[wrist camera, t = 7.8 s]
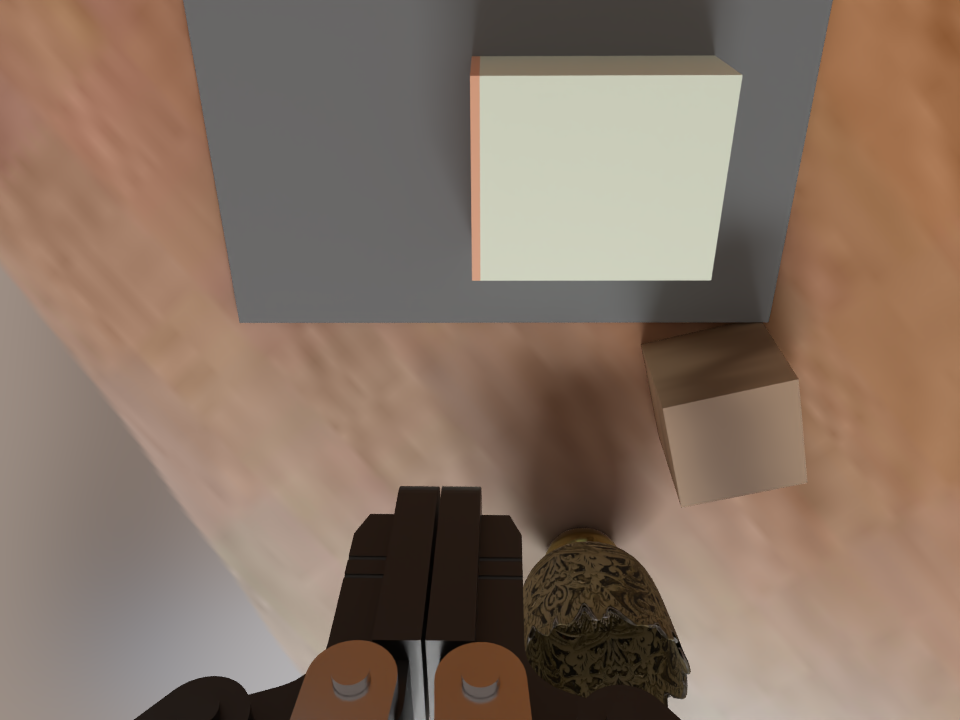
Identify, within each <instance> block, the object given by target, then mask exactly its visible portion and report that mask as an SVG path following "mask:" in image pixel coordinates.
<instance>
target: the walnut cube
mask: <svg viewBox="0 0 960 720" xmlns="http://www.w3.org/2000/svg"><path fill="white" fill-rule="evenodd" d="M641 347H642V352H643V357H644V363H645V368H646V373H647V378H648V383H649V388H650V393H651V398H652V403H653V409H654V414H655V419H656V424H657V429H658V434H659V438H660V441H661V445H662V448H663V451H664V454H665V457H666V460H667V464H668V467H669V470H670V473H671V476H672V479H673V483H674V486H675V489H676V492H677V495H678V498H679V502H680V505H681V508H682V507H688V506H693V505H698V504H703V503H708V502H713V501H718V500H723V499H728V498H733V497H738V496H743V495H748V494H753V493H758V492H763V491H769V490H774V489H779V488H784V487H789V486H794V485H799V484H804V483H807V473H806V461H805V449H804V437H803V425H802V414H801V402H800V390H799V379H798V378H797V376H796V374H795V373H794V371H793V370H792V368H791V367H790V365H789V363H788V362H787V360H786V359H785V357H784V356H783V354H782V352H781V351H780V349H779V348H778V346H777V345H776V343H775V342H774V340H773V338H772V337H771V335H770V334H769V332H768V331H767V329H766V327H765V326H764V324H763V323H762V322H737V323H733V324H729V325H724V326H720V327H716V328H711V329H707V330H702V331H698V332H694V333H689V334H685V335H680V336H676V337H672V338H667V339H663V340H659V341H654V342H650V343H645V344H641Z"/></svg>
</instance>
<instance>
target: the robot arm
mask: <svg viewBox="0 0 960 720" xmlns="http://www.w3.org/2000/svg"><path fill="white" fill-rule="evenodd" d="M429 717H430V720H681V719H680V718H678V717H677V716H676V715H675V714H674V713H673V712H672V711H671V710H670V709H669V708H668V707H666V706H665V705H664V704H663V703H662V702H661V701H660V700H659V699H657V698H656V697H655V696H654V695H652V694H650V693H648V692H647V691H645V690H642V689H640V688H637V687H633V686H628V685H611V686H605V687H603V688H600V689H598V690H596V691H594V692H592V693H591V694H590V695H589V696H588V697H587V698H585V697H582V696H578V695H575V694H572V693H569V692H566V691H563V690H561V689H558V688H556V687H554V686H552V685H550V684H549V683H547V682H546V681H544V680H543V679H542V678H541V677H540V676H539V675H538V674H537V673H536V672H535V671H534V669H533V668H532V667H531V665H530V663H529V661H528V659H527V656H526V653H525V641H524V606H523V570H522V535H521V533H520V532H519V530H518V529H517V527H516V525H515V524H514V522H513V520H512V519H511V517H510V515H482V495H481V487H444V486H443V487H442V491H441V497H440V487H428V486H400V488H399V492H398V497H397V502H396V508H395V513H394V514H370V515H369V516H368V517H367V519H366V520H365V521H364V522H363V523H362V525H361V526H360V527H359V528H358V529H357V531H356V532H355V533H354V537H353V541H352V545H351V549H350V553H349V560H348V562H347V566H346V570H345V578H343V583H342V587H341V591H340V595H339V599H338V603H337V608H336V612H335V616H334V620H333V624H332V629H331V633H330V637H329V641H328V645H327V648H326V650H324V651H323V652H322V653H320V654H319V655H318V656H317V657H316V658H315V659H314V660H313V662H312V663H311V665H310V666H309V668H308V670H307V672H306V674H305V675H303V676H302V677H300V678H298V679H297V680H295V681H293V682H290V683H288V684H285V685H283V686H279V687H276V688H272V689H268V690H265V691H261V692H257V693H253V694H250V695H248V694H247V692H246V691H245V689H244V688H243V687H242V685H240V684H239V683H238V682H236V681H234V680H232V679H230V678H226V677H219V676H210V677H203V678H198V679H195V680H192V681H189V682H187V683H185V684H183V685H181V686H180V687H178V688H177V689H175V690H173V691H172V692H171V693H169V694H168V695H167V696H165V697H164V698H163V699H161V700H160V701H159V702H157V703H156V704H155V705H153V706H152V707H150V708H149V709H148V710H146V711H145V712H144V713H142V714H141V715H140V716H138V717H137V718H136V719H134V720H429Z"/></svg>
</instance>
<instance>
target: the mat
mask: <svg viewBox="0 0 960 720" xmlns="http://www.w3.org/2000/svg"><path fill="white" fill-rule="evenodd" d="M183 1H184V7H185V13H186V19H187V24H188V30H189V36H190V41H191V47H192V53H193V59H194V64H195V70H196V76H197V82H198V87H199V93H200V99H201V104H202V110H203V116H204V122H205V127H206V133H207V139H208V144H209V150H210V156H211V162H212V167H213V173H214V179H215V185H216V190H217V196H218V202H219V207H220V213H221V219H222V225H223V230H224V236H225V242H226V248H227V253H228V259H229V265H230V270H231V276H232V282H233V288H234V293H235V299H236V305H237V310H238V316H239V322H240V323H460V322H769V318H770V313H771V308H772V303H773V298H774V293H775V288H776V283H777V278H778V272H779V267H780V262H781V257H782V252H783V247H784V242H785V237H786V232H787V227H788V222H789V217H790V212H791V207H792V202H793V197H794V192H795V187H796V182H797V177H798V172H799V167H800V162H801V157H802V152H803V147H804V142H805V137H806V132H807V127H808V122H809V117H810V112H811V106H812V101H813V96H814V91H815V86H816V81H817V76H818V71H819V66H820V61H821V56H822V51H823V46H824V41H825V36H826V31H827V26H828V21H829V16H830V11H831V6H832V1H833V0H183ZM704 55H715V56H716V57H718V58H719V59H721V60H722V61H724V62H725V63H726V64H728V65H729V66H731V67H732V68H733V69H735V70H736V71H738V72H739V73H740V74H742V75H743V76H742V82H741V89H740V95H739V102H738V109H737V115H736V122H735V128H734V135H733V141H732V148H731V154H730V161H729V167H728V174H727V180H726V187H725V193H724V200H723V206H722V213H721V219H720V226H719V232H718V239H717V245H716V252H715V258H714V265H713V271H712V278H711V280H627V281H472V227H471V130H470V70H471V59H472V56H704Z"/></svg>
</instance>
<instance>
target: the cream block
mask: <svg viewBox="0 0 960 720" xmlns="http://www.w3.org/2000/svg"><path fill="white" fill-rule="evenodd" d="M742 76H743V75H742V74H740V73H739V72H738V71H736V70H735V69H733V68H732V67H731V66H729V65H728V64H726V63H725V62H724V61H722V60H721V59H719V58H718V57H716V56H715V55H704V56H472V59H471V70H470V130H471V227H472V281H627V280H711V278H712V271H713V265H714V258H715V252H716V245H717V239H718V232H719V226H720V219H721V213H722V206H723V200H724V193H725V187H726V180H727V174H728V167H729V161H730V154H731V148H732V141H733V135H734V128H735V122H736V115H737V109H738V102H739V95H740V89H741V82H742Z"/></svg>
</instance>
